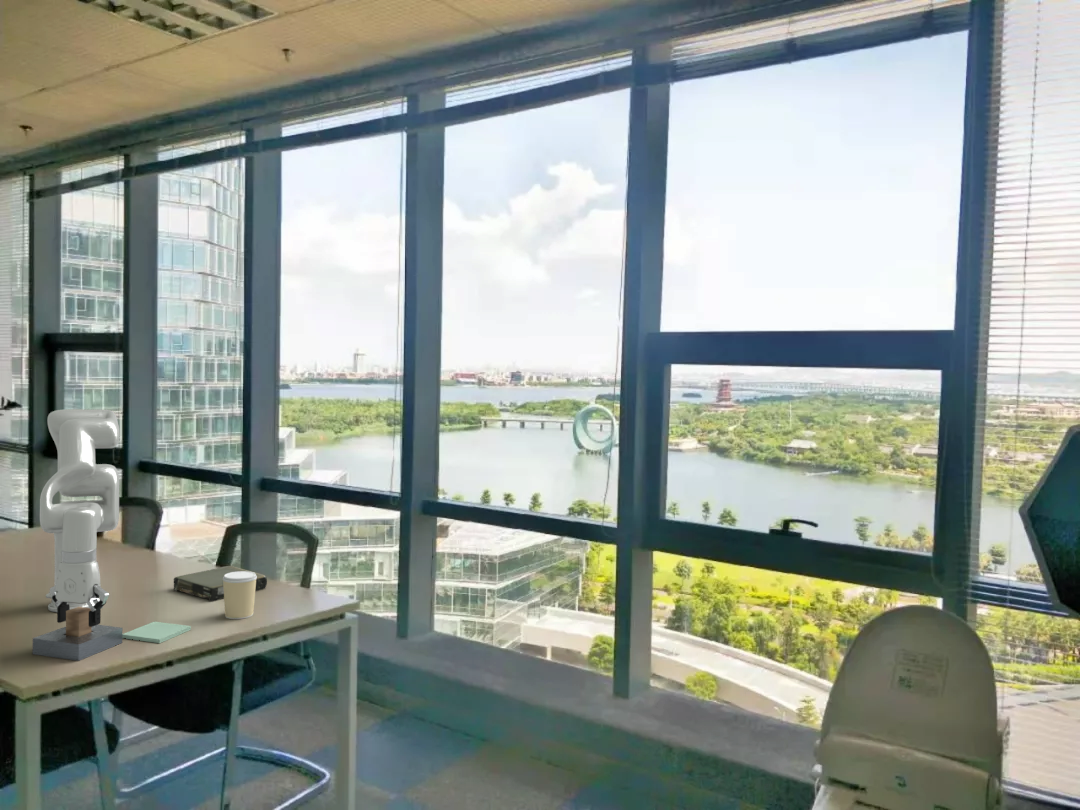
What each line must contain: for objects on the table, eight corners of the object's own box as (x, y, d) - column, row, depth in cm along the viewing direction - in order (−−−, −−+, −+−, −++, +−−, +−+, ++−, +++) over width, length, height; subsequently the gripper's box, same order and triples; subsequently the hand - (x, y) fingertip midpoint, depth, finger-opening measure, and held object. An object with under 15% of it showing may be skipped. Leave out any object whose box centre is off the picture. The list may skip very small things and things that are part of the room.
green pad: (121, 638, 213) (121, 634, 213) (154, 625, 224) (154, 621, 224) (159, 643, 210) (159, 639, 210) (190, 629, 221) (190, 626, 221)
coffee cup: (260, 610, 240) (261, 571, 240) (250, 620, 231) (250, 579, 231) (228, 610, 240) (229, 570, 240) (217, 619, 231) (218, 578, 230)
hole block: (32, 654, 199) (32, 638, 199) (78, 636, 213) (78, 622, 212) (78, 660, 195) (78, 644, 195) (122, 642, 209) (122, 627, 209)
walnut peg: (65, 650, 203) (66, 610, 202) (78, 645, 206) (78, 606, 206) (78, 651, 202) (79, 612, 201) (91, 646, 205) (91, 608, 205)
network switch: (165, 593, 258) (165, 577, 258) (224, 578, 278) (225, 563, 278) (216, 604, 247) (216, 588, 247) (273, 588, 268) (274, 573, 267)
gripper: (39, 556, 202) (38, 624, 202) (95, 562, 197) (95, 631, 198) (64, 550, 209) (63, 615, 210) (119, 556, 205) (118, 622, 205)
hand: (78, 623), depth 204 cm, fingers open, 9 cm apart
